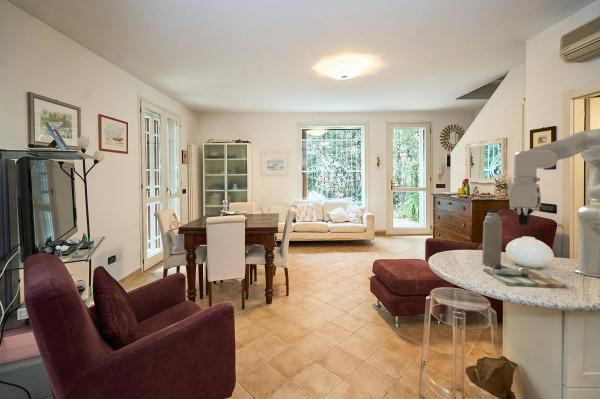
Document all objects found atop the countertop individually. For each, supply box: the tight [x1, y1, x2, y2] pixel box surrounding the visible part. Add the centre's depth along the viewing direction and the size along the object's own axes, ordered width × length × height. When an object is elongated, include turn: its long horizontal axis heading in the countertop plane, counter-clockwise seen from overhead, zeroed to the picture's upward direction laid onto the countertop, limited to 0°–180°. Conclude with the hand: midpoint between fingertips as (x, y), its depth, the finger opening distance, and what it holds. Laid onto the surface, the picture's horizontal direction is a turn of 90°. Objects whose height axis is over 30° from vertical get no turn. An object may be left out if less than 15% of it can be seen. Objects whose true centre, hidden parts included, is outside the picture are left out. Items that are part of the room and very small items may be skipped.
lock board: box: [482, 266, 567, 288], centre depth 130 cm, size 22×20×4 cm
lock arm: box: [494, 263, 530, 276], centre depth 131 cm, size 13×4×4 cm, turn 76°
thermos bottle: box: [481, 209, 503, 268], centre depth 151 cm, size 8×8×28 cm
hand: (523, 224), depth 125 cm, fingers closed
